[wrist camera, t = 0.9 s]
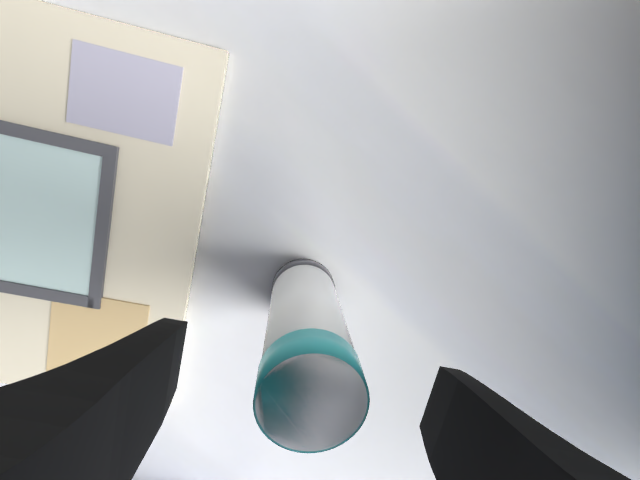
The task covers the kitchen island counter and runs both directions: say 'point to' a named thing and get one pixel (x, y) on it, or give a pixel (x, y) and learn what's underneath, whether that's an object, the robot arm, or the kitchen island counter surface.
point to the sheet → (97, 179)
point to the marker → (308, 365)
